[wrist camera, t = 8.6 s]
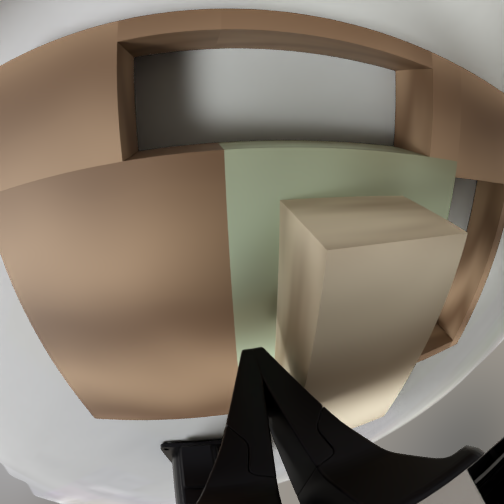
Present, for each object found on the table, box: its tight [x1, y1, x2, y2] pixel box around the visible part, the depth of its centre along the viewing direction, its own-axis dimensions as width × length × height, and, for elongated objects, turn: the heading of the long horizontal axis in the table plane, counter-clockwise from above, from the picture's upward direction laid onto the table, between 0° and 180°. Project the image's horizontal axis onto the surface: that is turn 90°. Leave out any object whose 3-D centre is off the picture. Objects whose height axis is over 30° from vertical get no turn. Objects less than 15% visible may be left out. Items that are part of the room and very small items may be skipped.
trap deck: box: [0, 9, 504, 420], centre depth 12 cm, size 18×26×2 cm
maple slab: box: [275, 196, 468, 429], centre depth 10 cm, size 10×5×4 cm, turn 1°
